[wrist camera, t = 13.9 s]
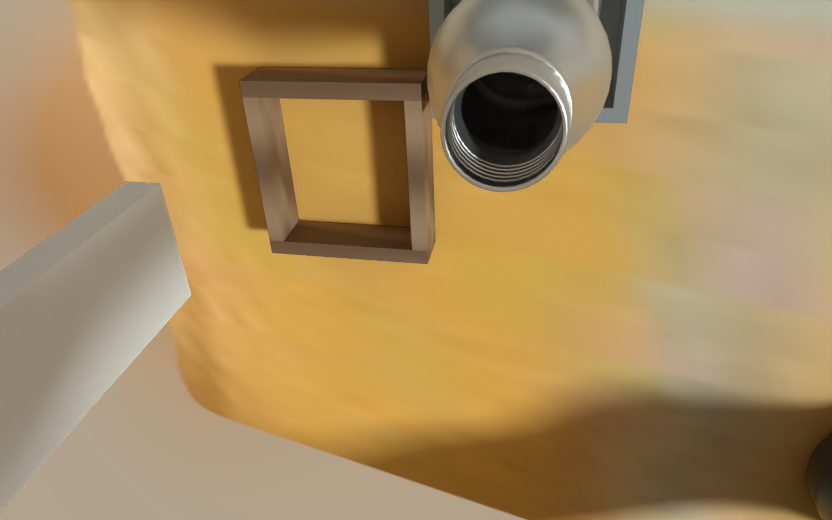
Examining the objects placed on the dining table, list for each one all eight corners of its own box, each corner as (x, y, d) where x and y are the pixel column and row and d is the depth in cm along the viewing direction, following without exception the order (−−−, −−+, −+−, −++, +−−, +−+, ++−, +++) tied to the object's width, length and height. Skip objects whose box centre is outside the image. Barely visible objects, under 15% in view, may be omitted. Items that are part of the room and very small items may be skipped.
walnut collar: (435, 241, 44) (427, 264, 41) (287, 231, 46) (272, 252, 44) (429, 69, 38) (420, 83, 35) (259, 67, 40) (239, 80, 37)
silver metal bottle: (622, -50, 32) (675, 52, 15) (568, 76, 36) (564, 265, 19) (502, -92, 32) (427, -35, 15) (461, 38, 36) (366, 194, 19)
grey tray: (622, 102, 36) (627, 123, 34) (442, 98, 38) (432, 118, 36) (653, -133, 30) (663, -133, 27) (437, -123, 32) (424, -121, 29)
